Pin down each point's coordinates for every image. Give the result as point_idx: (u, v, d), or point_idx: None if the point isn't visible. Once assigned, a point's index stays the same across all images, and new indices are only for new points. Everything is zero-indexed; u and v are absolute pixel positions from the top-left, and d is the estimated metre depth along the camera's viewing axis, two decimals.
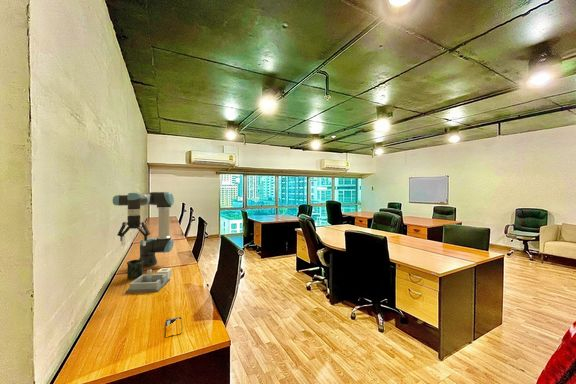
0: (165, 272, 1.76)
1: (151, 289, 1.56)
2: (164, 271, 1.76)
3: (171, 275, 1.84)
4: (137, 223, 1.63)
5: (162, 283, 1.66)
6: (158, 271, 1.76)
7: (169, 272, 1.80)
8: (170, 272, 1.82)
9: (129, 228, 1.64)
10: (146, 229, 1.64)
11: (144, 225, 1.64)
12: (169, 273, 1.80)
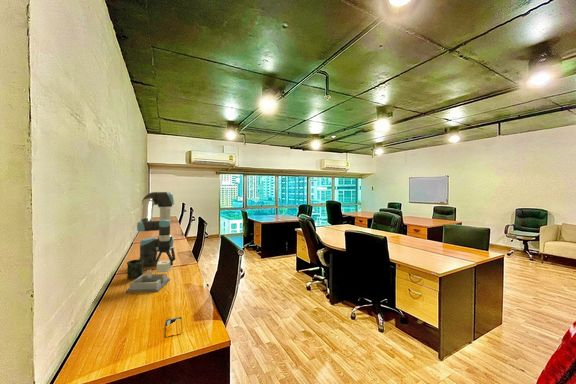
0: (165, 264, 1.76)
1: (151, 289, 1.56)
2: (164, 263, 1.77)
3: None
4: (167, 247, 1.79)
5: (162, 283, 1.66)
6: (158, 263, 1.77)
7: None
8: None
9: (161, 252, 1.80)
10: (173, 255, 1.80)
11: (173, 251, 1.80)
12: None
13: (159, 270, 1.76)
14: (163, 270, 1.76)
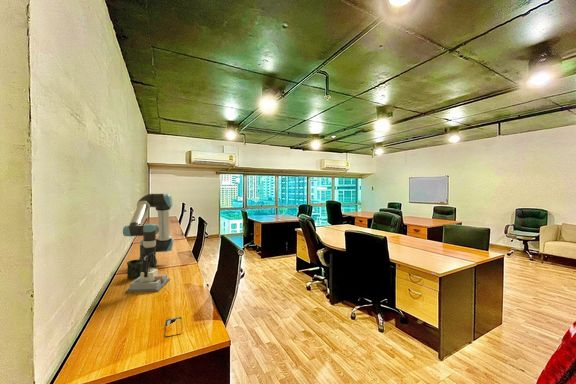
0: None
1: (151, 289, 1.56)
2: None
3: (152, 280, 1.61)
4: None
5: (162, 283, 1.66)
6: None
7: None
8: (149, 276, 1.61)
9: (150, 259, 1.66)
10: (143, 265, 1.57)
11: (144, 261, 1.58)
12: None
13: None
14: None
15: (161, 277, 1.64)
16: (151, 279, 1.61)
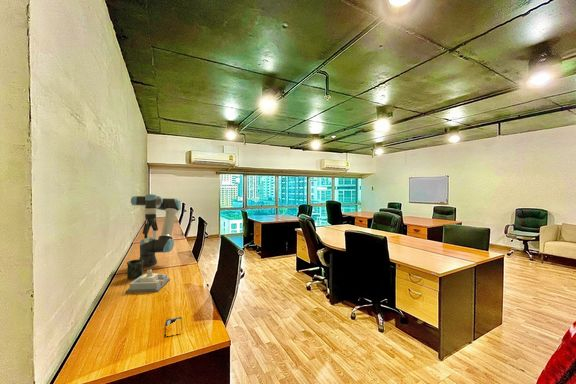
0: None
1: (151, 289, 1.56)
2: (143, 276, 1.63)
3: None
4: None
5: None
6: (146, 274, 1.67)
7: (145, 280, 1.60)
8: (149, 281, 1.61)
9: (152, 224, 1.90)
10: (144, 227, 1.79)
11: (145, 224, 1.80)
12: (145, 281, 1.60)
13: None
14: None
15: (161, 282, 1.64)
16: None
